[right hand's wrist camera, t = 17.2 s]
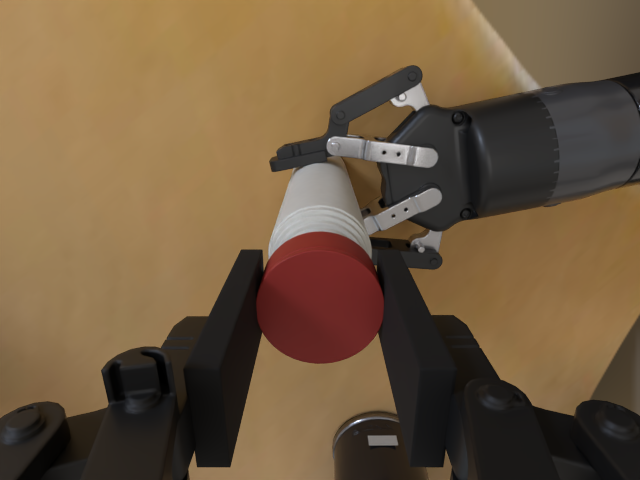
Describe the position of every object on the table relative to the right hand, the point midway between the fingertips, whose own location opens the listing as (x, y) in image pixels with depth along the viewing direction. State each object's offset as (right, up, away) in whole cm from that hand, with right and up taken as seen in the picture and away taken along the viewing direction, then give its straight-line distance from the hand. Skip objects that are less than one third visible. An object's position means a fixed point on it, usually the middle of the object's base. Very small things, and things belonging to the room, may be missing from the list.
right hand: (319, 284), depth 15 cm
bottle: (0, +7, +19) cm, 20 cm away
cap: (0, -1, -1) cm, 2 cm away
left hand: (-3, +4, +13) cm, 14 cm away
